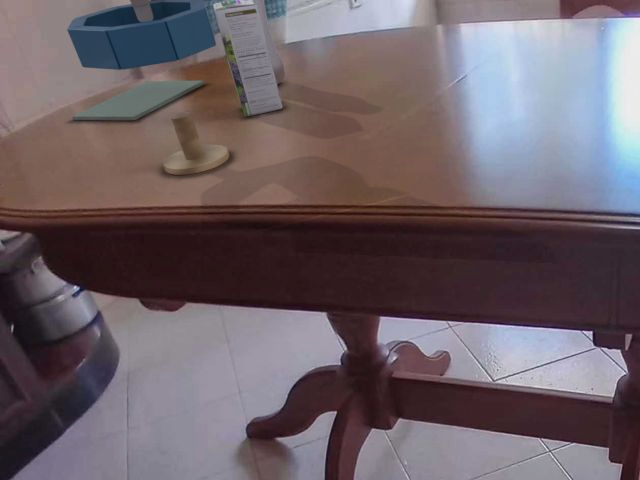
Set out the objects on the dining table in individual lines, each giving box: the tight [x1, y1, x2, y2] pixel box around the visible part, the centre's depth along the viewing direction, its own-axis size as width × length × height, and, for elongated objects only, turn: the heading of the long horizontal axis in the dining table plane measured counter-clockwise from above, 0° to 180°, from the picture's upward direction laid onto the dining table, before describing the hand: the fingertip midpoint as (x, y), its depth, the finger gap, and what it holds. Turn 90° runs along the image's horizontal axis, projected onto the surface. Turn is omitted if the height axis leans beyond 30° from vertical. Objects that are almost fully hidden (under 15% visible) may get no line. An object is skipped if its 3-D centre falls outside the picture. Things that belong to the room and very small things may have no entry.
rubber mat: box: [71, 80, 205, 121], centre depth 115 cm, size 18×12×1 cm, turn 163°
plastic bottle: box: [222, 0, 285, 85], centre depth 109 cm, size 6×7×20 cm
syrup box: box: [212, 0, 284, 117], centre depth 101 cm, size 6×6×14 cm
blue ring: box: [66, 0, 217, 71], centre depth 81 cm, size 15×15×4 cm
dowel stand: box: [162, 111, 230, 176], centre depth 87 cm, size 8×8×6 cm
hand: (147, 18), depth 86 cm, fingers closed on blue ring, 2 cm apart
